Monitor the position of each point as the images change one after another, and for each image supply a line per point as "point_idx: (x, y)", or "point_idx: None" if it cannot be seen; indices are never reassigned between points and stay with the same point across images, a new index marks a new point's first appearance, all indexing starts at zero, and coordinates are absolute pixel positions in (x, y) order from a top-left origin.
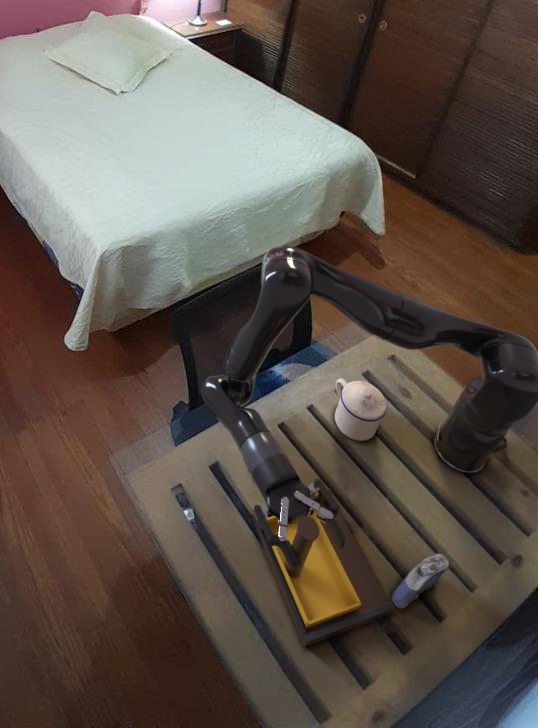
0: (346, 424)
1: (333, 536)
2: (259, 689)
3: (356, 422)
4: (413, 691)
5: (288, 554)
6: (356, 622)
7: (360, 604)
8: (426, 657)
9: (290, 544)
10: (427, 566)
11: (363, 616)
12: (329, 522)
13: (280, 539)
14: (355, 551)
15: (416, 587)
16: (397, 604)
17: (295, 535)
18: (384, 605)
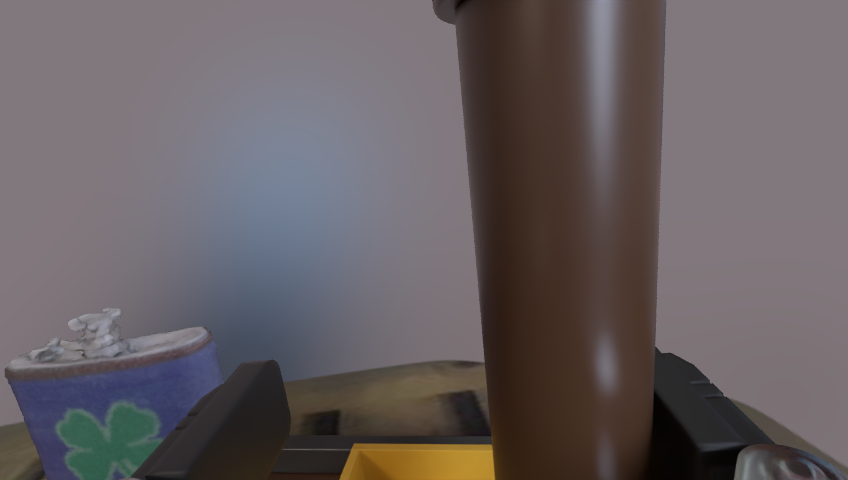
0: None
1: (256, 457)
2: (781, 439)
3: None
4: (375, 372)
5: (704, 391)
6: (403, 437)
7: (358, 444)
8: (299, 398)
9: (679, 414)
10: (99, 317)
11: (371, 442)
12: (185, 462)
13: (823, 469)
14: None
15: (191, 329)
16: None
17: (657, 223)
18: (287, 447)
